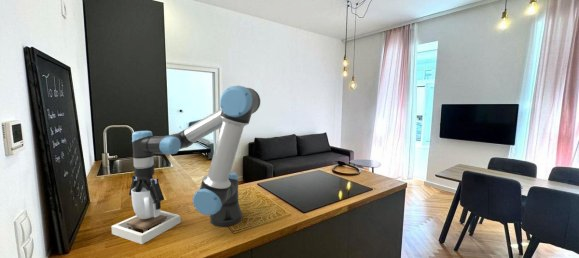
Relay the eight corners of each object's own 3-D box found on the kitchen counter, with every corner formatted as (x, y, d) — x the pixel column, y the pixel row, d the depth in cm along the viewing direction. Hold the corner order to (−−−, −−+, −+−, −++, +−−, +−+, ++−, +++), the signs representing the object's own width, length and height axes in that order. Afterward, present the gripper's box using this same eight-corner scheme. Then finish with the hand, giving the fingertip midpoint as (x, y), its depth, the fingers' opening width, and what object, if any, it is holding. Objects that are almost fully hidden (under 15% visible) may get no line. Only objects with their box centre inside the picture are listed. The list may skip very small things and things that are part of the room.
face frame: (180, 222, 111) (180, 215, 110) (141, 244, 93) (141, 236, 93) (152, 214, 118) (152, 208, 118) (111, 233, 101) (111, 226, 100)
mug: (163, 221, 101) (161, 191, 100) (132, 228, 95) (130, 197, 94) (160, 208, 113) (158, 182, 112) (133, 214, 107) (131, 186, 106)
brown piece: (167, 224, 109) (166, 216, 108) (144, 236, 98) (144, 227, 98) (150, 219, 113) (150, 212, 112) (127, 231, 103) (126, 222, 102)
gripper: (171, 167, 101) (174, 214, 104) (134, 161, 111) (137, 205, 113) (155, 171, 94) (158, 222, 97) (117, 165, 104) (121, 211, 106)
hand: (147, 213), depth 105 cm, fingers closed on mug, 12 cm apart
